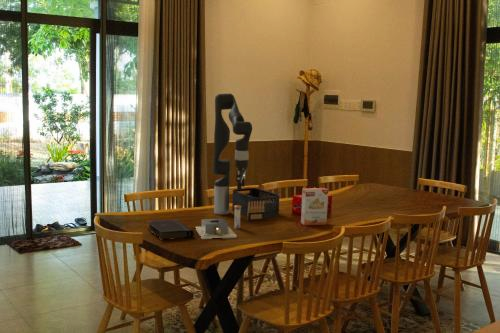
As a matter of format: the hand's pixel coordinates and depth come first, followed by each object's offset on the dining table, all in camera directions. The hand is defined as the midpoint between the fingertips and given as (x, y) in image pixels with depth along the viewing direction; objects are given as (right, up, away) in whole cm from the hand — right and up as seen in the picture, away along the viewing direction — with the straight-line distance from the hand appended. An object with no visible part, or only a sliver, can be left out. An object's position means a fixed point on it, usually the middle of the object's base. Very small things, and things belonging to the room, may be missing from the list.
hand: (240, 187), depth 308 cm
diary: (-38, -24, -9) cm, 46 cm away
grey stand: (-13, -24, -7) cm, 28 cm away
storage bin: (+8, -18, +45) cm, 48 cm away
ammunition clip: (+8, -20, +24) cm, 33 cm away
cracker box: (+42, -22, +19) cm, 51 cm away
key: (-2, -22, +5) cm, 23 cm away
